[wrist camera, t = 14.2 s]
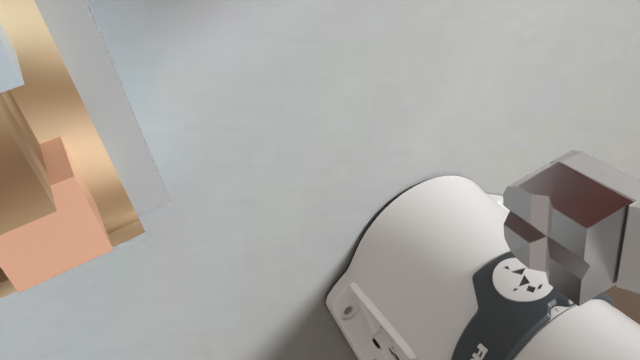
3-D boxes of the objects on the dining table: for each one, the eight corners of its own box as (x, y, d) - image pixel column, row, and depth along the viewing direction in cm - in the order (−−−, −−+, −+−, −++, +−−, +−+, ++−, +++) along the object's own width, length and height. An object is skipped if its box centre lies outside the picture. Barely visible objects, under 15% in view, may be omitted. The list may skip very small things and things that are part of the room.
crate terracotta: (96, 205, 27) (113, 249, 24) (12, 240, 26) (18, 292, 23) (60, 136, 25) (74, 176, 22) (-34, 172, 24) (-34, 219, 21)
